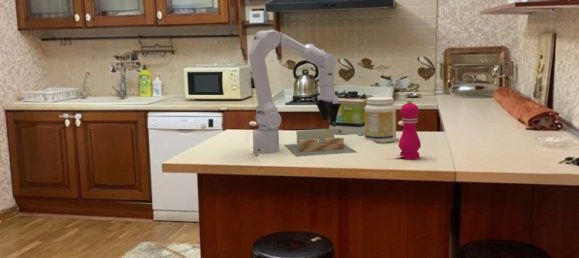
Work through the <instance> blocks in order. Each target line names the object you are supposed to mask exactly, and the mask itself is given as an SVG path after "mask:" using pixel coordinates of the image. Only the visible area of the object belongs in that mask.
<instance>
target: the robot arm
mask: <svg viewBox="0 0 579 258" xmlns="http://www.w3.org/2000/svg"><path fill="white" fill-rule="evenodd" d="M251 41H252V43H251V46H250V50H249V53H248V59H249V63H250V69H251V72H252V73H251V74H252V78H253V85H254V88H255V94H256V100H257V105H256V107H255V110H256V111H255V112H256V113H255V114H256V115H255V121H256V124H257V125H258V129H254V130H253V131H252V143H253V144H252V152H253V154H254V155H255V156H257V157H258V156H260V155H259V154H264V153H276V152H279V151H280V136H279V135H280V134H279V133H280V131H279V130H280V129H279V127H280V126H281V124H282V116H281V114H280V113H279V112H278V107H277V106H276V105H275V103H274V101H273V95H272V91H271V86H270V85H271V84H270V79H269V75H268V70H267V69H268V67H267V63H266V57H268V54H270V52H271V51H273V50H274V49H276V48H277V47H278V46H283V47H285V48H287V49H289V50H291V51H295V52H296V53H299V54H300V57H301V59H303V60H305V61H307V62H310V63H312V64H314V65H315V66H316V67H317V69H318V83H319V84H318V85H319V88H318V89H319V95H317V101H316V102H315V105H316V106H317V110H318V111H319V114H320V118H321V120H322V121H324V120H329V119H330V122H336V119H337V114H338V110H339V108H340V106H341V103H338V98H339V96H338V95H336V86H335V67H336V65H337V59H336V57H335V56H334V54H332V53H331V52H330V53H329V52H325V49H320V48H318V47H316V44H314V43H307V44H303V43H301V42H300V41H297V40H295V39H293V38H291V37H290V36H288V35H287V34H285V33H284V32H281V31H277V30H276V29H267V30H265V29H264V30H259V31H257V32H256V33H255V35H253V37H252V38H251ZM328 118H329V119H328Z"/></svg>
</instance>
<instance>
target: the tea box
mask: <svg viewBox="0 0 579 258" xmlns="http://www.w3.org/2000/svg"><path fill="white" fill-rule="evenodd" d="M338 103H341V106H340V108H339V110H338V114H337V119H336V122H330V119H328V121H329V122H328V123H329V125H328V126H329V127H328V129H334V135H335V134H338V135H348V136H349V135H357V136H365V106H366V105H368V104H367V98H351V97H350V98H348V97H338Z"/></svg>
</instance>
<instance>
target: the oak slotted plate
mask: <svg viewBox="0 0 579 258" xmlns="http://www.w3.org/2000/svg"><path fill="white" fill-rule="evenodd" d="M318 143H319V140H317V139H310V140H299V151H300V152H309V151H323V150H338V149H344V144H345V143H344V137H334V138H326V139H325V144H318Z"/></svg>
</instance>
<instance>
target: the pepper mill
mask: <svg viewBox="0 0 579 258" xmlns="http://www.w3.org/2000/svg"><path fill="white" fill-rule="evenodd" d="M406 102H407V103H405V104H403V105H402V106H401V108H400V115H401V116H402V118H401V119H402V120H401V123H403V124H402V126H403V127H402V128H403V129H402V133H401V136H400V137H399V141H398V148H399V149H400V150H401V151H400V153H399V156H400V159H403V160H408V159H410V160H412V161H413V160H418V159H420V152H419V150H420V149H421V147H422V146H421V139H420V137H419V135H418V133H417V123H418V115H419V113H420V109H419V106H418V105H417V104H416V103H413V99H412V98H408V99H407V100H406Z"/></svg>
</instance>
